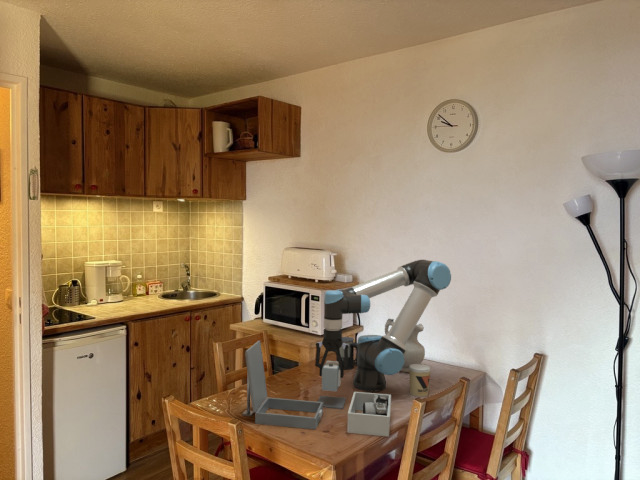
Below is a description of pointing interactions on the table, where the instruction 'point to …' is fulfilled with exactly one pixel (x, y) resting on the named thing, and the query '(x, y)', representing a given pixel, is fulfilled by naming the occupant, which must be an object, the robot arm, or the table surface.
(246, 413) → the stay rod
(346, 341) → the milk frother
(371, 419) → the crate
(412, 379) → the coffee cup
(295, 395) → the table surface
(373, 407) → the camera
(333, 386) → the block
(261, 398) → the lid
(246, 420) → the table surface
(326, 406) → the mat
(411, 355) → the ceramic pitcher
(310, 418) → the case
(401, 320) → the robot arm
